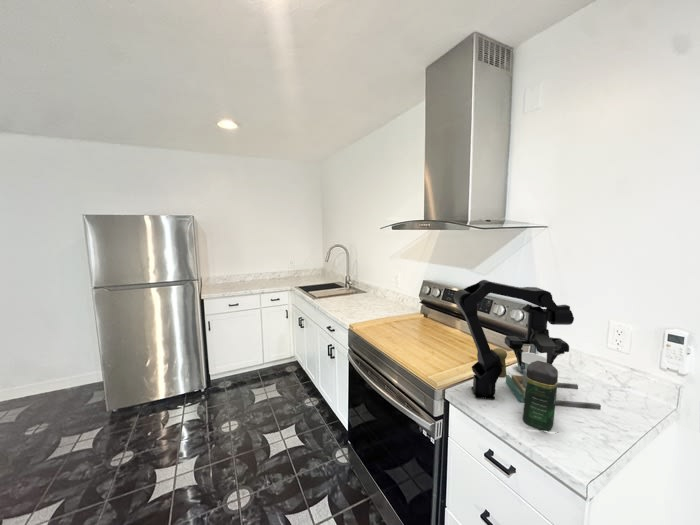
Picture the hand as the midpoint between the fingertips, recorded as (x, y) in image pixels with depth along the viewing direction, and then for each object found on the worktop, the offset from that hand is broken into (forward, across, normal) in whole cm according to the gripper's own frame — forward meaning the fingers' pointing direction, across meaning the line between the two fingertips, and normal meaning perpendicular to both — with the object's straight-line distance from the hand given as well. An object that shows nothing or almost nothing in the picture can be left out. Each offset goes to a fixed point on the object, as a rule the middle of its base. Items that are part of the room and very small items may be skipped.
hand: (534, 366), depth 103 cm
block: (+9, 0, 0) cm, 9 cm away
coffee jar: (+11, -5, -16) cm, 20 cm away
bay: (+11, +5, 0) cm, 12 cm away
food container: (+11, +7, +17) cm, 21 cm away
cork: (+11, -7, +13) cm, 18 cm away
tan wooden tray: (+10, 0, 0) cm, 10 cm away
